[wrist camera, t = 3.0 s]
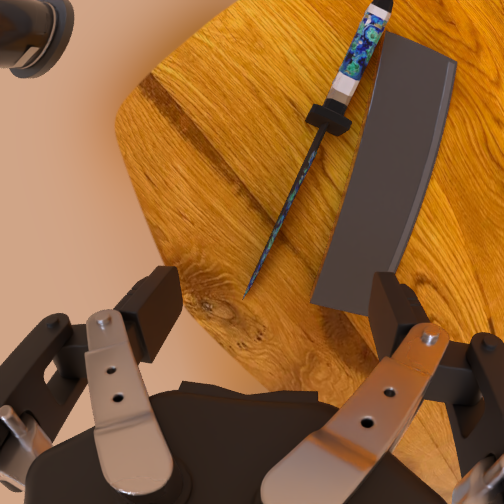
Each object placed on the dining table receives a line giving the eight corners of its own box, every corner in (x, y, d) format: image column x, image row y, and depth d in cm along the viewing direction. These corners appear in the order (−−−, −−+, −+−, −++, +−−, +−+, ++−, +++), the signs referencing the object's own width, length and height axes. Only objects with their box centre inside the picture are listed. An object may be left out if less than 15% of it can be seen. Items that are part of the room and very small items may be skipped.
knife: (369, 1, 18) (378, -15, 14) (401, 19, 18) (415, 7, 14) (225, 273, 34) (213, 298, 30) (251, 286, 34) (241, 312, 30)
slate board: (309, 295, 31) (309, 303, 30) (381, 34, 20) (385, 29, 19) (372, 310, 31) (374, 318, 29) (450, 64, 20) (458, 61, 18)
